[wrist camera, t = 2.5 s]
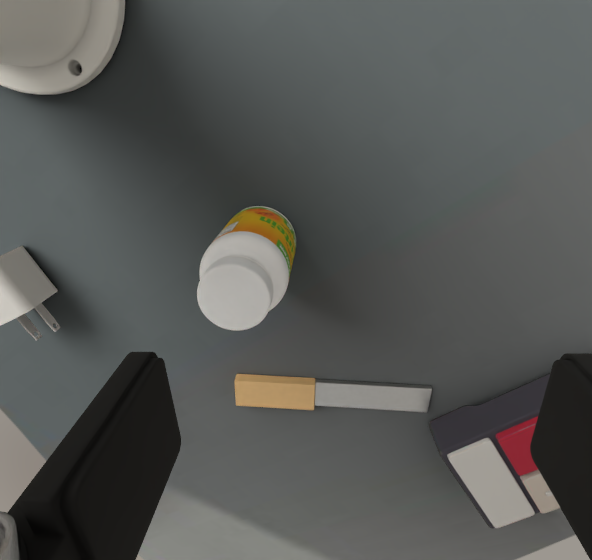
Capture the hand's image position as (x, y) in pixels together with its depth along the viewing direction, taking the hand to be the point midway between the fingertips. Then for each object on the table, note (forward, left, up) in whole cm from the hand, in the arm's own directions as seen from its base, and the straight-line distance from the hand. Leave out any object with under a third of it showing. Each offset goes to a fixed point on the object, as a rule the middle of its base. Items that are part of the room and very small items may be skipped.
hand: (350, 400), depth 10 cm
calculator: (+19, -20, -21) cm, 34 cm away
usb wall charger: (-24, -8, -21) cm, 33 cm away
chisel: (+1, -17, -20) cm, 26 cm away
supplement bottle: (-5, -3, -21) cm, 21 cm away
